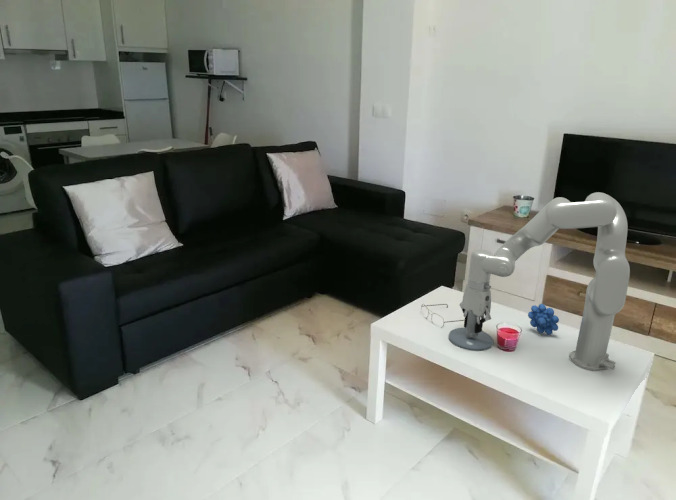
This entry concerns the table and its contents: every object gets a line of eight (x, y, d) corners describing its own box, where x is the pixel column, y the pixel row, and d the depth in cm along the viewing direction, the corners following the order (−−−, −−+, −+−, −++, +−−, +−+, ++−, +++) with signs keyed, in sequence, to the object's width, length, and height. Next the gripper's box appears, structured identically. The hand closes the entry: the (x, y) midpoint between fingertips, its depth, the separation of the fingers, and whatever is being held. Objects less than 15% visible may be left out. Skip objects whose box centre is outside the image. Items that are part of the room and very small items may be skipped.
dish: (501, 344, 193) (502, 341, 193) (471, 355, 185) (472, 352, 184) (469, 326, 206) (469, 324, 205) (439, 336, 197) (440, 333, 197)
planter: (464, 335, 193) (467, 309, 190) (467, 330, 197) (470, 305, 194) (476, 338, 191) (479, 312, 188) (479, 333, 195) (482, 308, 192)
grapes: (522, 333, 202) (527, 304, 198) (526, 326, 208) (531, 299, 204) (554, 341, 197) (559, 312, 193) (557, 334, 202) (563, 306, 198)
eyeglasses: (417, 313, 217) (418, 302, 215) (447, 308, 223) (448, 297, 221) (440, 330, 203) (441, 318, 201) (471, 324, 209) (472, 312, 207)
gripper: (504, 289, 183) (497, 336, 189) (468, 274, 196) (462, 318, 202) (489, 294, 179) (483, 341, 185) (453, 278, 192) (448, 322, 198)
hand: (472, 328), depth 194 cm, fingers closed on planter, 4 cm apart
